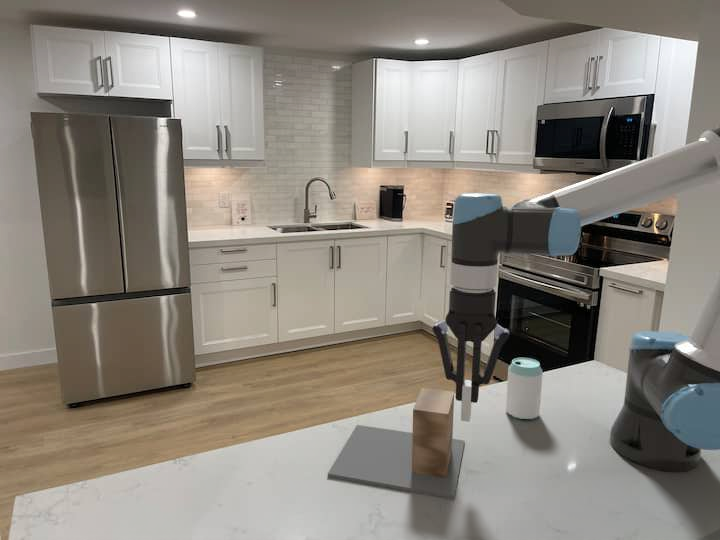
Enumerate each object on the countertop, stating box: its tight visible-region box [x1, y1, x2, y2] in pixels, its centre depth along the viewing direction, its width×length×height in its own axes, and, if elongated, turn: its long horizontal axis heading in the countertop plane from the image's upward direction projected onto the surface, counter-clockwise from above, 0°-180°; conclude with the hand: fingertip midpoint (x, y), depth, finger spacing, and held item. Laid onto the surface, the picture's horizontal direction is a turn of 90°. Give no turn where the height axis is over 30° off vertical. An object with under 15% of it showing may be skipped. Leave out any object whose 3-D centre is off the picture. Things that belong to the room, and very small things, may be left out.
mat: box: [327, 424, 466, 500], centre depth 97 cm, size 22×18×1 cm
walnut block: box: [412, 387, 455, 478], centre depth 94 cm, size 6×9×12 cm, turn 164°
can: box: [505, 357, 544, 420], centre depth 114 cm, size 7×7×12 cm
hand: (465, 417), depth 92 cm, fingers closed
